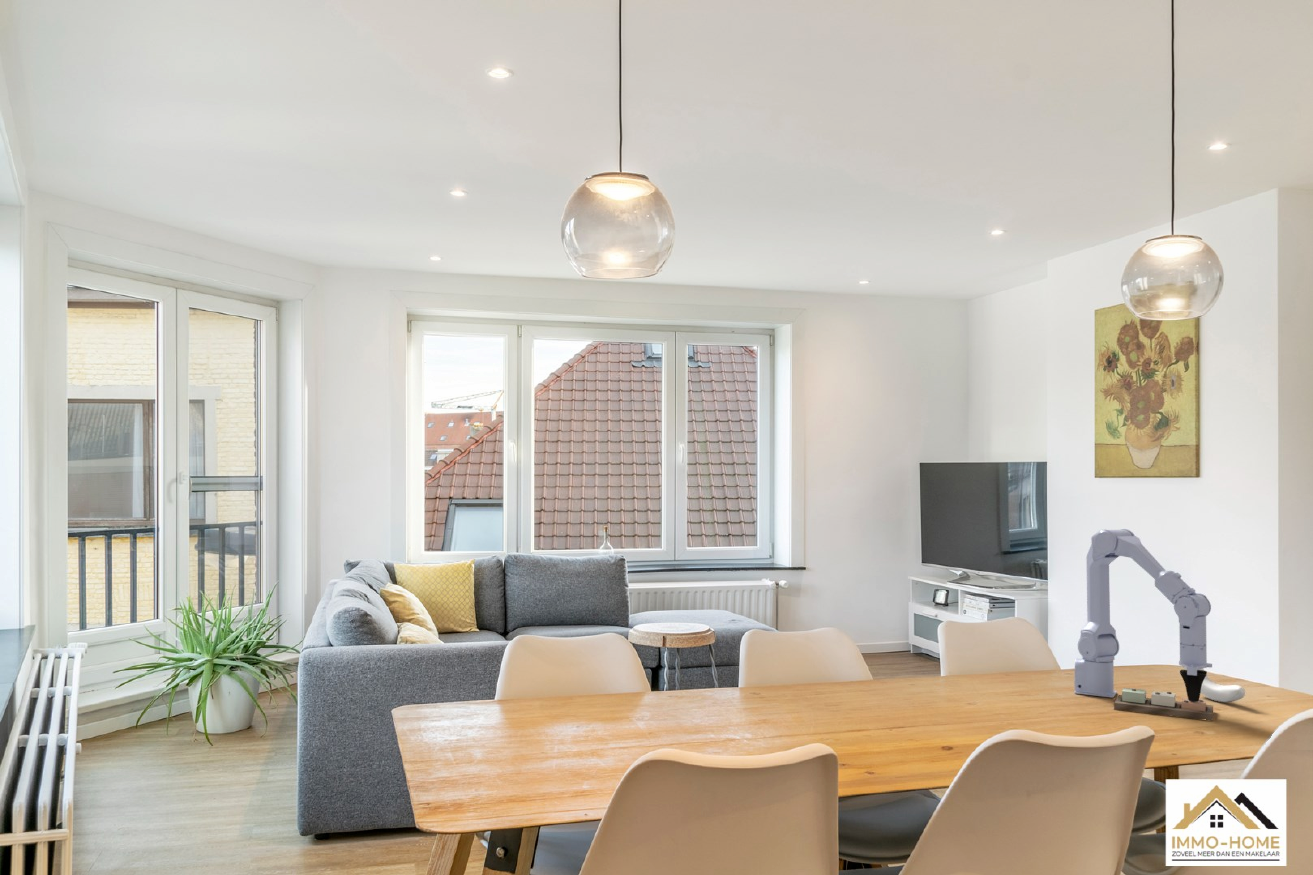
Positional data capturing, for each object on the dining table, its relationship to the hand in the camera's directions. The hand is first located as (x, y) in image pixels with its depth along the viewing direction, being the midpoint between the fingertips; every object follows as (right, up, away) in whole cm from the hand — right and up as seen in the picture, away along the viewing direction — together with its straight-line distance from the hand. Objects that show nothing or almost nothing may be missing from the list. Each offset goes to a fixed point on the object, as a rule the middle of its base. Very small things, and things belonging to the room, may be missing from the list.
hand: (1193, 700), depth 237 cm
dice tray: (-6, -3, +3) cm, 7 cm away
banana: (+14, -4, +15) cm, 21 cm away
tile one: (-11, -2, +7) cm, 13 cm away
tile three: (0, -3, 0) cm, 3 cm away
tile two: (-6, -2, +3) cm, 7 cm away
